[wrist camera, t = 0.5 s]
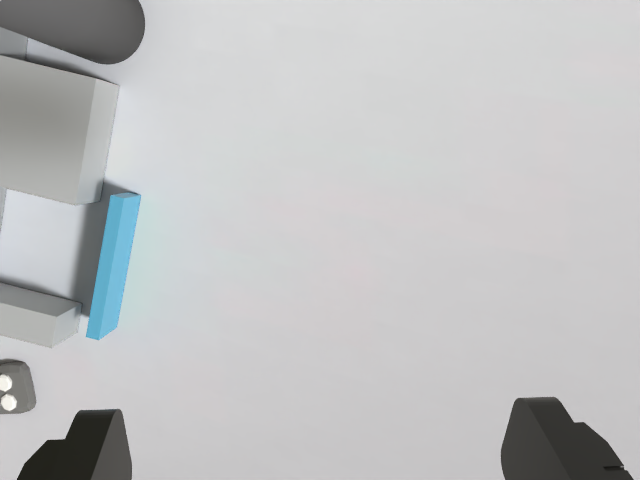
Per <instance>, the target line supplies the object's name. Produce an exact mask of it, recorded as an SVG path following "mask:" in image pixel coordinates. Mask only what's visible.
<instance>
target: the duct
mask: <svg viewBox="0 0 640 480" xmlns="http://www.w3.org/2000/svg"><path fill="white" fill-rule="evenodd" d="M27 42H28V37H26V36H23V35H21V34H18V33H15V32H13V31H10V30H7V29H5V28H2V27H0V232H1V225H2V218H3V211H4V204H5V197H6V190H7V189H11V190H15V191H19V192H23V193H27V194H31V195H35V196H39V197H43V198H47V199H51V200H55V201H59V202H63V203H67V204H71V205H75V206H76V205H82V204H87V203H93V202H99V201H100V197H101V192H102V186H103V180H104V174H105V168H106V162H107V157H108V151H109V145H110V139H111V133H112V128H113V122H114V116H115V110H116V104H117V99H118V93H119V87H120V86H119V85H115V84H112V83H109V82H106V81H103V80H99V79H96V78H92V77H88V76H84V75H80V74H76V73H72V72H67V71H63V70H59V69H55V68H51V67H47V66H43V65H39V64H35V63H30V62H26V61H25V56H26V49H27ZM140 199H141V195H138V194H134V193H129V192H127V193H121V194H114V195H111V197H110V202H109V208H108V214H107V219H106V225H105V231H104V237H103V242H102V248H101V254H100V259H99V265H98V271H97V276H96V282H95V288H94V294H93V299H92V305H91V311H90V316H89V322H88V328H87V334H86V337H88V338H92V339H96V340H100V339H101V338H102V337H104V336H105V335H107V334H108V333H109V332H111V331H112V330H114V329H115V328H116V327H117V323H118V318H119V312H120V307H121V302H122V296H123V291H124V285H125V280H126V274H127V269H128V264H129V258H130V253H131V247H132V242H133V237H134V231H135V226H136V220H137V215H138V209H139V204H140ZM81 308H82V303H79V302H75V301H71V300H67V299H63V298H59V297H55V296H51V295H47V294H43V293H39V292H35V291H31V290H27V289H23V288H19V287H16V286H12V285H8V284H4V283H0V335H1V336H5V337H9V338H13V339H17V340H21V341H25V342H29V343H33V344H37V345H41V346H45V347H49V348H53V347H55V346H56V345H58V344H59V343H61V342H62V341H64V340H66V339H67V338H69V337H70V336H72V335H74V334H75V333H77V331H78V325H79V319H80V313H81Z"/></svg>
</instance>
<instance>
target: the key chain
mask: <svg viewBox="0 0 640 480" xmlns="http://www.w3.org/2000/svg"><path fill="white" fill-rule="evenodd" d="M35 404H36V397H35V391H34V386H33V381H32V377H31V373H30V369H29V367H28V366H27V364H26V363H25V362H10V363H4V364H0V414H18V413H24V412H27V411H30V410H31V409H33V408H34V407H35Z"/></svg>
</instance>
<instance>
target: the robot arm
mask: <svg viewBox="0 0 640 480" xmlns="http://www.w3.org/2000/svg"><path fill="white" fill-rule="evenodd" d="M501 464H502V470H503V474H504V477H505V480H633V478H632V477H631V475H630V474H629V472H628V471H627V470H624V465H623V464H622V462H621V461H620V459H619V458H618V457H617V455H616V454H615V452H614V451H613V449H612V448H611V446H610V445H609V444H608V442H607V441H606V440H604V439H603V438H602V437H601V436H600V435H598V434H597V433H596V432H595V431H594V430H592V429H591V428H590V427H589V426H588V425H587V424H585V423H584V422H579V423H574V422H573V420H572V419H571V417H570V416H569V414H568V412H567V411H566V409H565V408H564V406H563V405H562V403H561V402H560V401H559V400H558V399H557V398H555V397H535V398H518V399H516V400H515V402H514V405H513V408H512V412H511V415H510V419H509V423H508V426H507V430H506V434H505V437H504V441H503V445H502V449H501ZM131 479H132V462H131V456H130V451H129V446H128V440H127V435H126V430H125V424H124V419H123V414H122V412H121V410H120V409H109V410H80V411H79V412H78V413H77V414H76V416H75V418H74V420H73V422H72V424H71V427H70V429H69V431H68V434H67V436H66V438H65V439H63V440H47V441H46V442H45V443H44V444H43V445H42V446H41V447H40V448H39V449H38V450H37V451H36V452H35V453H34V454H33V455H32V457H31V458H30V459H29V460H28V461H27V462H26V463H25V464H24V466H23V468H22V470H21V472H20V474H19V476H18V478H17V480H131Z"/></svg>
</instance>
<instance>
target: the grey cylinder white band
mask: <svg viewBox="0 0 640 480" xmlns="http://www.w3.org/2000/svg"><path fill="white" fill-rule="evenodd" d="M0 27H2V28H5V29H7V30H10V31H13V32H15V33H18V34H21V35H23V36H26V37H29V38H31V39H34V40H37V41H39V42H42V43H45V44H47V45H50V46H53V47H55V48H58V49H61V50H64V51H66V52H69V53H72V54H74V55H77V56H80V57H82V58H85V59H88V60H90V61H93V62H96V63H100V64H115V63H119V62H121V61H124V60H125V59H127V58H129V57H130V56H131V55H132V54H133V53H134V52H135V51H136V50H137V48H138V47H139V45H140V43H141V41H142V39H143V35H144V30H145V18H144V13H143V9H142V7H141V4H140V2H139V1H138V0H0Z"/></svg>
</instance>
